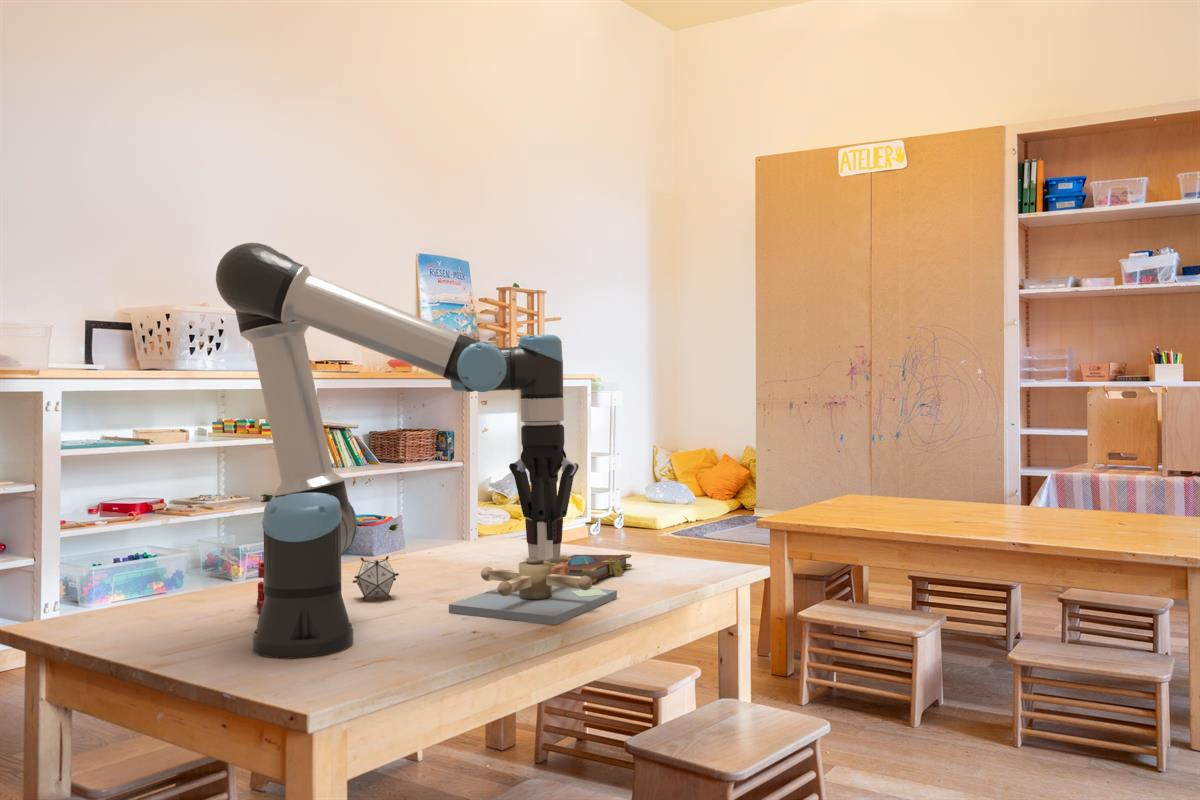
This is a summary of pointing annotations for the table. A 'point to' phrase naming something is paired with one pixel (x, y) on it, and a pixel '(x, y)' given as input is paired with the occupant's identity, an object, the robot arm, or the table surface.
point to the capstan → (535, 579)
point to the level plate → (534, 605)
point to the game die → (375, 578)
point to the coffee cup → (534, 543)
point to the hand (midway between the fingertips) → (545, 558)
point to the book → (595, 565)
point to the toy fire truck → (260, 587)
